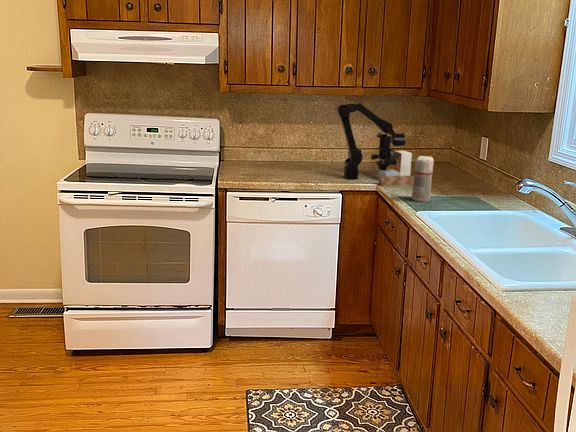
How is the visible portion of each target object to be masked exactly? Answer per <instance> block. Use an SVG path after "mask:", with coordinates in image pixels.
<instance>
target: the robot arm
mask: <svg viewBox="0 0 576 432" xmlns="http://www.w3.org/2000/svg"><path fill="white" fill-rule="evenodd" d="M334 111H335V113H336V116H337V117H338V119H339V120H340V122H341V125H342V126H341V127H342V130H343V133H344V137H345V141H346V143H347V147H348V148H347V150H348V151H347V154H348V156H347V158H346V159H345V160H344V161H343V162H344V170H343V176H342V178H343V179H345V180H359V165H360V164H361V163H362V161H363V157H364V155H363V154H362V149H361V148H360V147H357V144H356V140H355V137H354V133H353V129H352V125H351V121H350V116H351V113H356V112H358V113H360V114H361V115H362V116H364V117H365V118H366V119H368V120H369V121H370V122H372V123H373V124H374V125H375V126H376V128H377V129H378V130H379V131H380V132H378V133H377V134H376V135H375V138H379V140H378V141H379V143H378V146H377V150H378V153H372V154H371V155H370V160H373V161H375V160H376V161H375V164H376V165H377V167H378V171H379V170H388V169H387V168H388V167H389V166H394V165H397V160H398V159H399V156H400V154H398V153H395V150H394V149H392V148H391V145H392V146H393V147H404V146H405V145H406V141H407V140H406V135H405V132H404V133H403V132H400V133H397V132H395V131H394V127H393V124H392V123H391V122H389V121H388V120H385V119H383V118H380V117H379V116H378V115H376V114H375V113H374V112H373V111H371V110H369V109H368V108H367V107H366V106H364V105H363V103H361V102H353V103H346V104H345V103H339V104H337V105H336V106H335V108H334ZM396 159H397V160H396Z"/></svg>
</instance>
